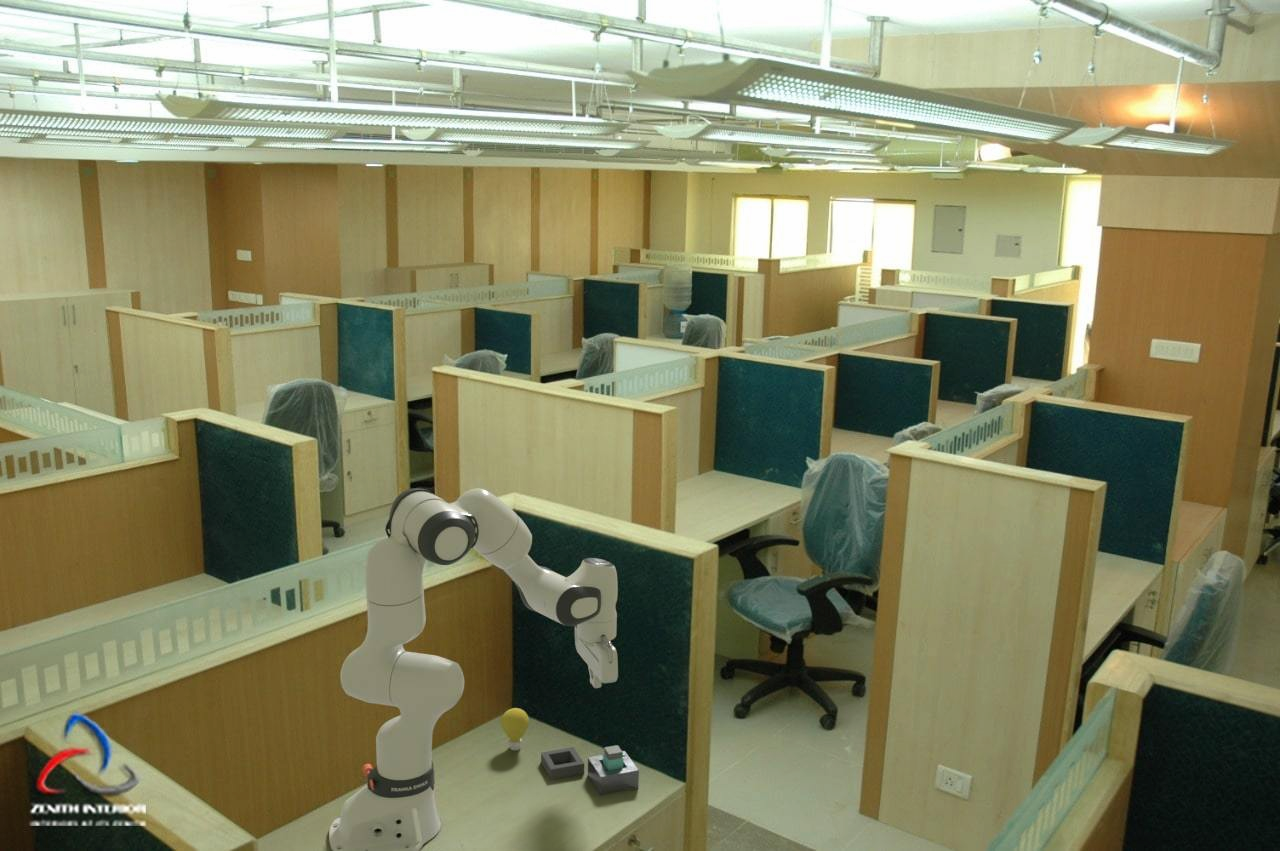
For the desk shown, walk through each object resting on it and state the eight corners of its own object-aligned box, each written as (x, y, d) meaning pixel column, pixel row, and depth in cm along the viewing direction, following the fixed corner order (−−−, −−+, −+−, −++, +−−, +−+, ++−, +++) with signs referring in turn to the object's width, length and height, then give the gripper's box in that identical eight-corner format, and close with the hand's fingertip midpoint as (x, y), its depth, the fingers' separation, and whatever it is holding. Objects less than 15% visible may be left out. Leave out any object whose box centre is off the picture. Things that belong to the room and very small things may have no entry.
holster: (550, 779, 240) (550, 769, 240) (541, 762, 247) (541, 752, 247) (584, 773, 243) (584, 763, 242) (573, 756, 250) (573, 747, 250)
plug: (607, 787, 237) (608, 754, 236) (602, 779, 241) (603, 747, 239) (622, 784, 239) (623, 752, 237) (617, 776, 242) (618, 744, 240)
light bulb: (503, 740, 257) (503, 702, 255) (530, 741, 257) (531, 703, 255) (498, 754, 250) (498, 715, 248) (526, 755, 250) (527, 716, 248)
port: (600, 795, 234) (600, 776, 233) (587, 775, 242) (587, 756, 241) (638, 788, 237) (638, 769, 236) (624, 768, 245) (624, 750, 245)
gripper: (625, 643, 230) (624, 702, 233) (596, 611, 249) (594, 666, 251) (598, 646, 228) (596, 706, 230) (570, 614, 247) (569, 669, 249)
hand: (595, 685), depth 241 cm, fingers closed
